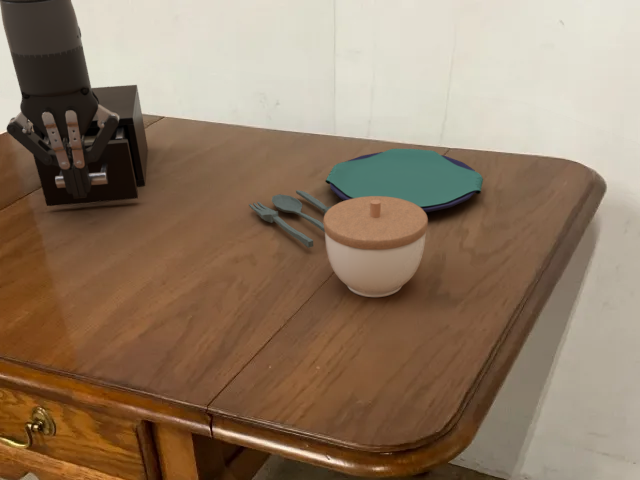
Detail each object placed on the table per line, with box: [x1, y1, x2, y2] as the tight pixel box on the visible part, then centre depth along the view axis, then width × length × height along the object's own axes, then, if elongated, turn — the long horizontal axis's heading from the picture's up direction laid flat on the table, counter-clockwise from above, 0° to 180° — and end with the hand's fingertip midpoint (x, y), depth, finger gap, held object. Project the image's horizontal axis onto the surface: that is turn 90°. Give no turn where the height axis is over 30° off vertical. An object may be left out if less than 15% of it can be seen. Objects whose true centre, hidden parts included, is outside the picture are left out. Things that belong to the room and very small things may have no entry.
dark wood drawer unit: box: [31, 84, 149, 187], centre depth 108 cm, size 15×13×9 cm
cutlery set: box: [248, 148, 484, 249], centre depth 100 cm, size 20×30×2 cm, turn 122°
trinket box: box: [323, 196, 429, 298], centre depth 81 cm, size 11×11×9 cm
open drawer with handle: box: [32, 125, 139, 207], centre depth 101 cm, size 18×12×7 cm, turn 9°
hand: (81, 195), depth 93 cm, fingers closed
